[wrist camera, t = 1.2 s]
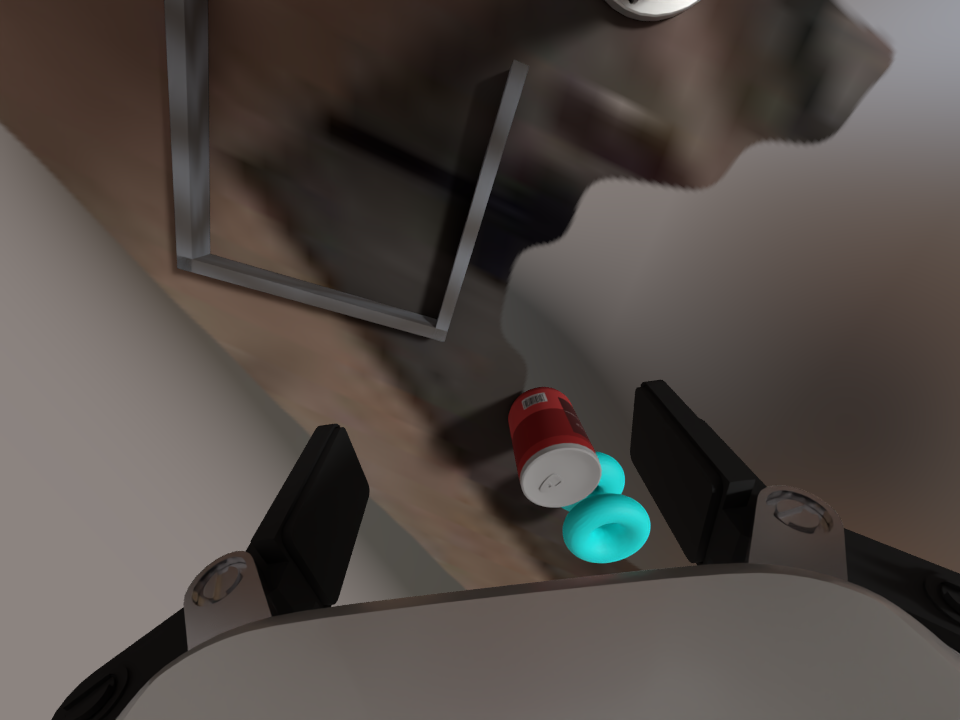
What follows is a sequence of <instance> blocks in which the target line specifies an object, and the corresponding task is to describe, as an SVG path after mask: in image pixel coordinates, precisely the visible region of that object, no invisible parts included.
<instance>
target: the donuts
mask: <svg viewBox="0 0 960 720" xmlns="http://www.w3.org/2000/svg"><path fill="white" fill-rule="evenodd" d="M596 455H597V457H598V459H599V462H600V465H601V469H602V472H601V478H600V482H599V483H598V485H597V487H596V488H595V489H594V490H593V492H592V493H590V494H589V495H588V496H587V497H585V498H584V499H582V500H581V501H579V502H576V503H574V504H571V505H568V506H564V507H562V508H563V509H565V510H567V511H570V512H569V513H568V515H567V516H566V518H565V521H564V524H563V538H564V541H565V544H566V546H567V547H568V549H569V550H570V551H571V552H572V553H573V554H574V555H575V556H577V557H578V558H580V559H583V560H585V561H588V562H593V563H610V562H615V561H619V560H621V559H624V558H627V557H628V556H630V555H632V554H634V553H635V552H637V551H638V550H639V549H640V548H641V547H642V546H643V545H644V543H645V542H646V540H647V538H648V536H649V533H650V519H649V516H648V514H647V512H646V510H645V509H644V508H643V507H642V506H641V504H639V503H638V502H637V501H635V500H634V499H632V498H630V497H627V496H624V495H621V493H622V491H623V488H624V484H625V476H624V472H623V469H622V467H621V466H620V464H619V463H618V462H617V461H616V460H615V459H614V458H612V457H611V456H609V455H607V454H604V453H601V452H596Z"/></svg>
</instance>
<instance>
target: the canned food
mask: <svg viewBox="0 0 960 720" xmlns="http://www.w3.org/2000/svg"><path fill="white" fill-rule="evenodd" d="M508 423H509V429H510V434H511V439H512V445H513V450H514V455H515V461H516V466H517V471H518V476H519V480H520V485H521V487H522V490H523V493H524V495H525V496H526V497H527V498H528V499H529V500H530V501H531V502H533V503H535V504H537V505H540V506H543V507H551V508H552V507H564V506H568V505H571V504H574V503H576V502H579V501H581V500H582V499H584V498H585V497H587V496H588V495H589V494H590V493H592V492H593V490H594V489H595V488H596V487H597V485H598V483H599V482H600V478H601V472H602V469H601V465H600V462H599V459H598V457H597V455H596V452H595V450H594V448H593V446H592V444H591V442H590V441H589V439H588V436H587V435H586V432H585V430H584V428H583V427H582V425H581V422H580V420H579V419H578V417H577V415H576V413H575V411H574V409H573V407H572V405H571V403H570V401H569V399H568V398H567V397H566V396H565V395H564V394H562V393H561V392H559V391H558V390H556V389H553V388H549V387H538V388H534V389H530V390H528V391H526V392H524V393H523V394H521V395H520V396H519V397H518V398H517V399H516V400H515V401H514V403H513V404H512V406H511V409H510V412H509V417H508Z"/></svg>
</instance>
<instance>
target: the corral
mask: <svg viewBox="0 0 960 720" xmlns="http://www.w3.org/2000/svg"><path fill="white" fill-rule="evenodd" d="M164 7H165V27H166V47H167V67H168V88H169V108H170V128H171V148H172V169H173V189H174V209H175V229H176V249H177V268H179V269H182V270H186V271H190V272H193V273H197V274H200V275H204V276H208V277H211V278H215V279H218V280H222V281H226V282H229V283H233V284H236V285H240V286H244V287H247V288H251V289H255V290H258V291H262V292H265V293H269V294H273V295H276V296H280V297H283V298H287V299H291V300H294V301H298V302H302V303H305V304H309V305H312V306H316V307H320V308H323V309H327V310H330V311H334V312H338V313H341V314H345V315H348V316H352V317H356V318H359V319H363V320H367V321H370V322H374V323H377V324H381V325H385V326H388V327H392V328H395V329H399V330H403V331H406V332H410V333H413V334H417V335H421V336H424V337H428V338H432V339H435V340H439V341H442V342H444V341H445V338H446V334H447V331H448V328H449V325H450V321H451V318H452V315H453V312H454V309H455V305H456V302H457V299H458V296H459V292H460V289H461V286H462V283H463V279H464V276H465V273H466V270H467V266H468V263H469V260H470V257H471V253H472V250H473V247H474V244H475V241H476V237H477V234H478V231H479V228H480V224H481V221H482V218H483V215H484V211H485V208H486V205H487V202H488V198H489V195H490V192H491V189H492V185H493V182H494V179H495V176H496V173H497V169H498V166H499V163H500V160H501V156H502V153H503V150H504V147H505V143H506V140H507V137H508V134H509V130H510V127H511V124H512V121H513V117H514V114H515V111H516V108H517V105H518V101H519V98H520V95H521V92H522V88H523V85H524V82H525V79H526V75H527V72H528V69H529V66H528V65H526V64H523V63H521V62H519V61H517V60H515V59H514V61H513V63H512V65H511V68H510V71H509V74H508V77H507V81H506V84H505V88H504V91H503V95H502V98H501V102H500V105H499V108H498V112H497V115H496V119H495V122H494V126H493V129H492V133H491V136H490V139H489V143H488V146H487V150H486V153H485V157H484V160H483V164H482V167H481V170H480V174H479V177H478V181H477V184H476V188H475V191H474V195H473V198H472V201H471V205H470V208H469V212H468V215H467V219H466V222H465V226H464V229H463V232H462V236H461V239H460V243H459V246H458V250H457V253H456V257H455V260H454V263H453V267H452V270H451V274H450V277H449V281H448V284H447V288H446V291H445V294H444V298H443V301H442V305H441V308H440V312H439V315H438V318H437V319H434V318H431V317H427V316H424V315H420V314H417V313H414V312H410V311H407V310H403V309H400V308H396V307H393V306H389V305H386V304H382V303H379V302H375V301H372V300H368V299H365V298H361V297H358V296H355V295H351V294H348V293H344V292H341V291H337V290H334V289H330V288H327V287H323V286H320V285H316V284H313V283H309V282H306V281H302V280H299V279H295V278H292V277H289V276H285V275H282V274H278V273H275V272H271V271H268V270H264V269H261V268H257V267H254V266H250V265H247V264H243V263H240V262H236V261H233V260H229V259H226V258H223V257H219V256H216V255H212V254H210V189H209V77H208V0H164Z"/></svg>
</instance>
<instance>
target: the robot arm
mask: <svg viewBox="0 0 960 720" xmlns="http://www.w3.org/2000/svg"><path fill="white" fill-rule="evenodd" d="M605 1H606V2H607V3H608V4H609V5H610V6H611V7H612V8H613V9H614V10H616V11H618V12H619V13H621V14H623V15H625V16H626V17H629V18H633V19H637V20H640V21H659V20H663V19H667V18H671V17H674V16H676V15H678V14H680V13H682V12H684V11H686V10H688V9H690V8H691V7H692V6H694V5H695V4H696V3H698V2H699V1H701V0H632V3H631V4H630V3H629V1H628V0H605ZM630 455H631V459H632V462H633V464H634V466H635V467H636V469H637V471H638V473H639V474H640V476H641V478H642V480H643V482H644V483H645V485H646V487H647V488H648V490H649V492H650V494H651V496H652V497H653V499H654V501H655V503H656V504H657V506H658V508H659V510H660V511H661V513H662V515H663V517H664V519H665V520H666V522H667V524H668V526H669V527H670V529H671V531H672V533H673V534H674V536H675V538H676V540H677V541H678V543H679V545H680V547H681V548H682V550H683V552H684V554H685V555H686V557H687V559H688V560H689V561H690V562H691V563H696V564H697V566H687V567H675V568H665V569H654V570H643V571H634V572H625V573H616V574H607V575H597V576H588V577H579V578H570V579H561V580H552V581H543V582H534V583H526V584H517V585H508V586H500V587H491V588H482V589H474V590H465V591H456V592H448V593H439V594H431V595H424V596H415V597H406V598H399V599H391V600H382V601H373V602H366V603H358V604H349V605H342V606H336V607H331V605H333V604H335V603H336V602H337V600H338V598H339V595H340V591H341V588H342V585H343V581H344V578H345V574H346V571H347V568H348V564H349V561H350V558H351V555H352V551H353V547H354V544H355V541H356V538H357V534H358V531H359V527H360V524H361V521H362V518H363V514H364V511H365V508H366V504H367V501H368V498H369V485H368V482H367V480H366V477H365V475H364V472H363V470H362V468H361V465H360V463H359V460H358V458H357V456H356V453H355V451H354V448H353V446H352V443H351V441H350V439H349V436H348V434H347V431H346V429H345V428H344V427H341V428H340V426H339V425H338V424H329V425H322V426H318V427H317V428H316V430H315V431H314V433H313V435H312V436H311V438H310V440H309V442H308V443H307V445H306V447H305V448H304V450H303V452H302V454H301V455H300V457H299V459H298V460H297V462H296V464H295V466H294V467H293V469H292V471H291V473H290V474H289V476H288V478H287V480H286V481H285V483H284V485H283V486H282V488H281V490H280V491H279V493H278V495H277V497H276V498H275V500H274V502H273V503H272V505H271V507H270V509H269V510H268V512H267V514H266V515H265V517H264V519H263V521H262V522H261V524H260V526H259V527H258V529H257V531H256V533H255V534H254V536H253V538H252V540H251V543H250V545H249V546H248V548H247V550H246V552H245V551H235V552H232V553H228V554H226V555H224V556H222V557H220V558H218V559H216V560H215V561H213V562H212V563H211V564H209V565H208V566H206V567H205V568H204V569H203V570H202V571H201V572H200V573H199V574H198V575H197V576H196V577H195V579H194V580H193V581H192V583H191V584H190V586H189V587H188V590H187V592H186V594H185V597H184V607H183V608H182V609H181V610H179V611H178V612H177V613H175V614H174V615H172V616H171V617H169V618H168V619H167V620H165V621H164V622H163V623H161V624H160V625H158V626H157V627H156V628H154V629H153V630H152V631H150V632H149V633H148V634H146V635H145V636H143V637H142V638H140V639H139V640H138V641H136V642H135V643H134V644H132V645H131V646H129V647H128V648H127V649H126V650H124V651H123V652H121V653H120V654H118V655H117V656H116V657H115V658H113V659H112V660H110V661H109V662H107V663H106V664H105V665H103V666H102V667H100V668H99V669H98V670H96V671H95V672H94V673H93V674H91V675H90V676H89V677H88V678H86V679H85V680H84V681H83V682H81V683H80V684H79V685H78V686H77V687H76V688H75V689H74V691H73V692H72V693H71V694H70V695H69V696H68V697H67V698H66V699H65V701H64V702H63V703H62V705H61V706H60V707H59V709H58V710H57V711H56V712H55V714H54V716H53V718H52V720H960V574H959V573H957V572H954V571H952V570H949V569H946V568H944V567H941V566H939V565H936V564H934V563H931V562H929V561H926V560H923V559H921V558H918V557H916V556H913V555H911V554H908V553H906V552H903V551H901V550H898V549H896V548H893V547H891V546H888V545H885V544H883V543H880V542H878V541H875V540H873V539H870V538H868V537H865V536H863V535H860V534H858V533H855V532H852V531H850V530H847V529H845V528H844V527H843V523H842V520H841V518H840V516H839V515H838V514H837V513H836V511H835V510H834V509H833V508H832V507H831V506H829V505H828V504H827V503H826V502H825V501H823V500H822V499H820V498H818V497H817V496H815V495H813V494H811V493H809V492H806V491H804V490H801V489H798V488H794V487H790V486H782V485H774V486H769V487H766V486H765V485H764V484H763V482H762V481H761V480H760V479H759V478H758V477H757V476H756V475H755V474H754V473H753V472H752V471H751V470H750V469H749V468H748V467H747V465H745V463H744V462H743V461H742V460H741V459H740V458H739V457H738V456H737V455H736V454H735V453H734V452H733V451H732V450H731V449H730V447H729V446H727V444H726V443H725V442H724V441H723V440H722V439H721V438H720V437H719V436H718V435H717V434H716V433H715V432H714V431H713V430H712V428H711V427H710V426H708V424H707V423H705V421H703V420H702V419H700V418H698V417H697V416H696V415H695V414H694V412H693V411H692V410H691V409H690V408H689V407H688V406H687V405H686V404H685V403H684V402H683V401H682V400H681V399H680V397H679V396H678V395H677V394H676V393H675V392H674V391H673V390H672V389H671V388H670V387H669V386H668V385H667V384H666V382H664V381H663V380H656V381H648V382H643V383H642V384H641V387H638V388H637V389H636V391H635V401H634V412H633V424H632V435H631V447H630Z"/></svg>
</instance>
